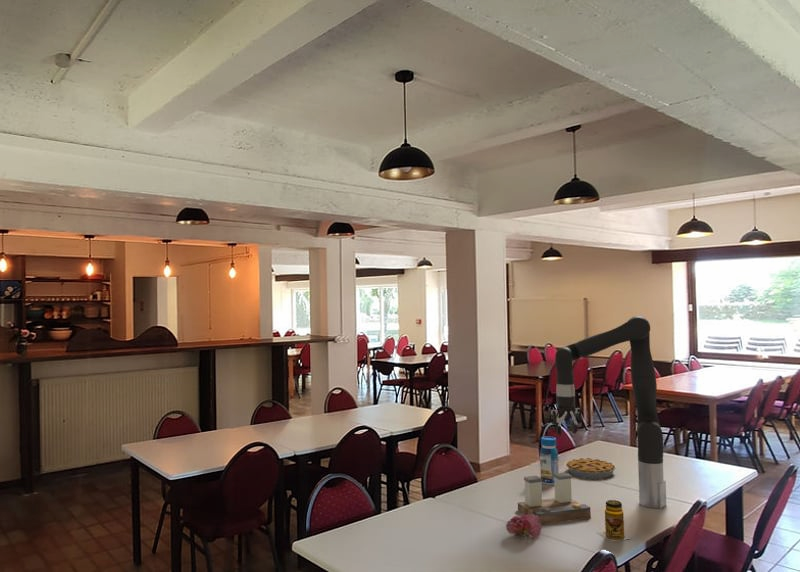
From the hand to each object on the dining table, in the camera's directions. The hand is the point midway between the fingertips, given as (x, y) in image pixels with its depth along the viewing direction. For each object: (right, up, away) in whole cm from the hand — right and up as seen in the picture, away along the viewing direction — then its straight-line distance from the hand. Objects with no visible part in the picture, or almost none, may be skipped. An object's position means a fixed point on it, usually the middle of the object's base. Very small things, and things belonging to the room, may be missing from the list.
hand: (566, 433), depth 244 cm
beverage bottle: (-3, -27, +17) cm, 32 cm away
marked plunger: (-6, -22, -16) cm, 28 cm away
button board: (-11, -25, -22) cm, 35 cm away
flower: (-27, -25, -43) cm, 57 cm away
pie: (+21, -27, +31) cm, 46 cm away
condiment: (+4, -25, -43) cm, 50 cm away
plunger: (-19, -22, -20) cm, 35 cm away
